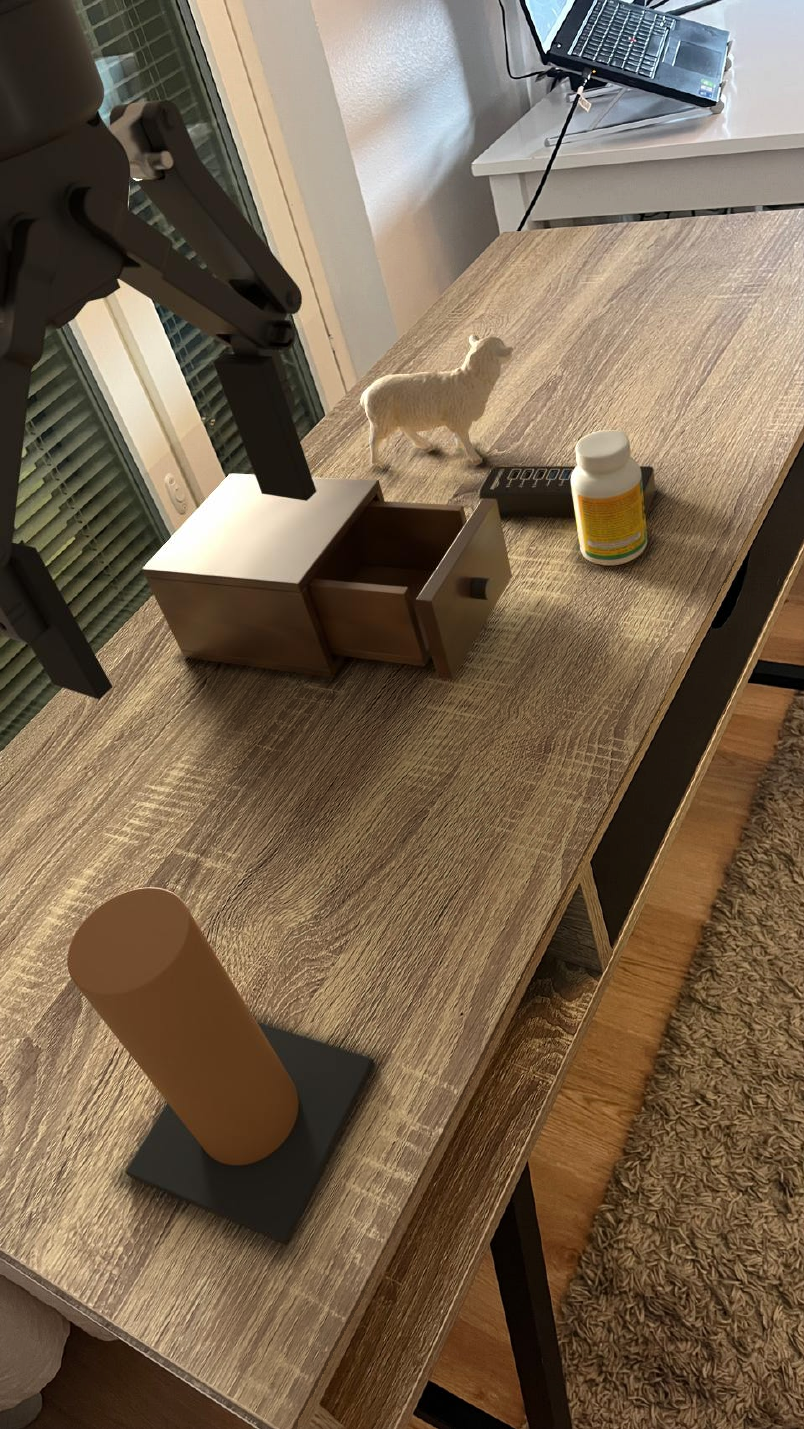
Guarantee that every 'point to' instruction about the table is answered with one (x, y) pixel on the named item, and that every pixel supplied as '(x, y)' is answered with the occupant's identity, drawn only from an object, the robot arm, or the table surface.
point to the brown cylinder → (184, 1023)
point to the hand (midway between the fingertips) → (194, 582)
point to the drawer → (412, 583)
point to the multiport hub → (542, 490)
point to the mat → (282, 1179)
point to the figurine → (436, 399)
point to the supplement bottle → (608, 499)
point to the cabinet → (255, 573)
